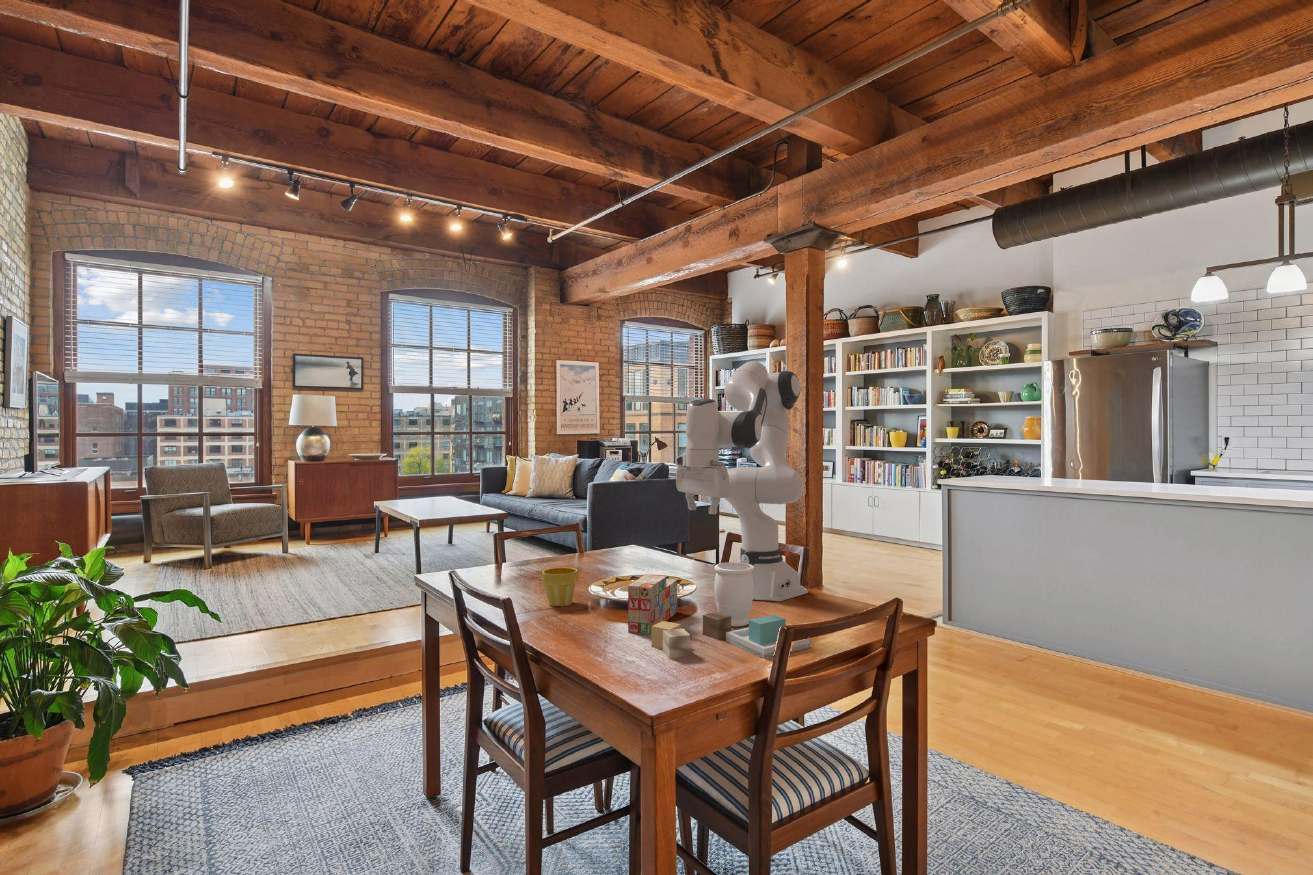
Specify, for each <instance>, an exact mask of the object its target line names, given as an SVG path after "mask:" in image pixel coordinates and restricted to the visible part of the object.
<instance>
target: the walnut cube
mask: <svg viewBox="0 0 1313 875" xmlns="http://www.w3.org/2000/svg"><path fill="white" fill-rule="evenodd" d="M729 631H732V626H731V615H727V614H724V613H720V612H718V610H717V611H714V612H710V613H706V614H704V615H703V614H702V636H705V637H709V638H712V639H715V640H721V639H724V638H726V632H729Z"/></svg>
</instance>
